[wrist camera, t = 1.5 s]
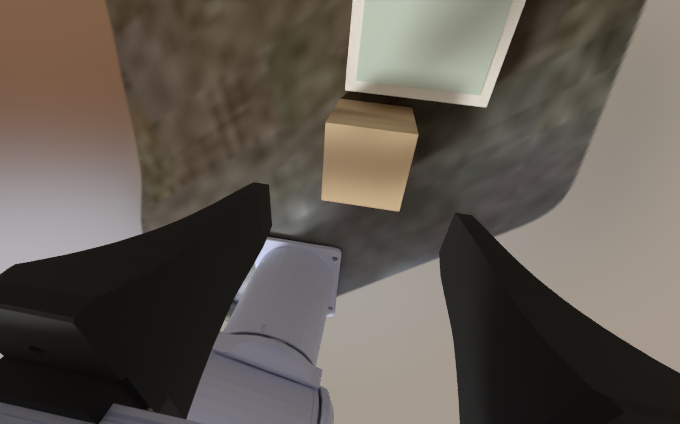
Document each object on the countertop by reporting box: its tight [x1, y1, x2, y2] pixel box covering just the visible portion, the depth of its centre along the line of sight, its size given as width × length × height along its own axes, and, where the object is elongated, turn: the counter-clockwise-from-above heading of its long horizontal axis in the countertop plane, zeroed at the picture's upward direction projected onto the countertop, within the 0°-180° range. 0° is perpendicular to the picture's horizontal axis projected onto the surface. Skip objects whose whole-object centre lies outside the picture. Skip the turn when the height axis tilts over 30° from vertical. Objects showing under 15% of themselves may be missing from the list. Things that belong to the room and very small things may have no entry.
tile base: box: [345, 0, 526, 107], centre depth 14 cm, size 8×8×2 cm
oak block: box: [321, 99, 419, 212], centre depth 17 cm, size 4×4×5 cm
